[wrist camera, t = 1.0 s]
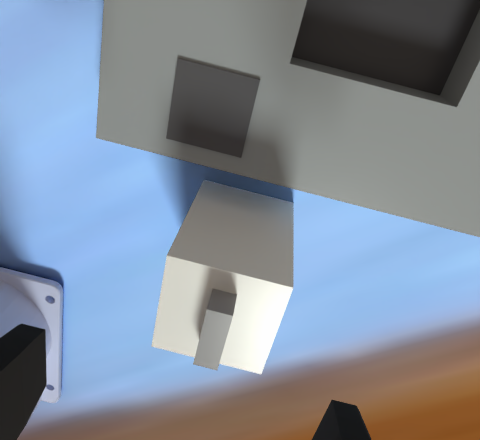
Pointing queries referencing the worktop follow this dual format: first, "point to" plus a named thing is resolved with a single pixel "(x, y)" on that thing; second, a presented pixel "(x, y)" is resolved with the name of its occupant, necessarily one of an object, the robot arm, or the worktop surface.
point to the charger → (227, 279)
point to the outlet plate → (306, 96)
